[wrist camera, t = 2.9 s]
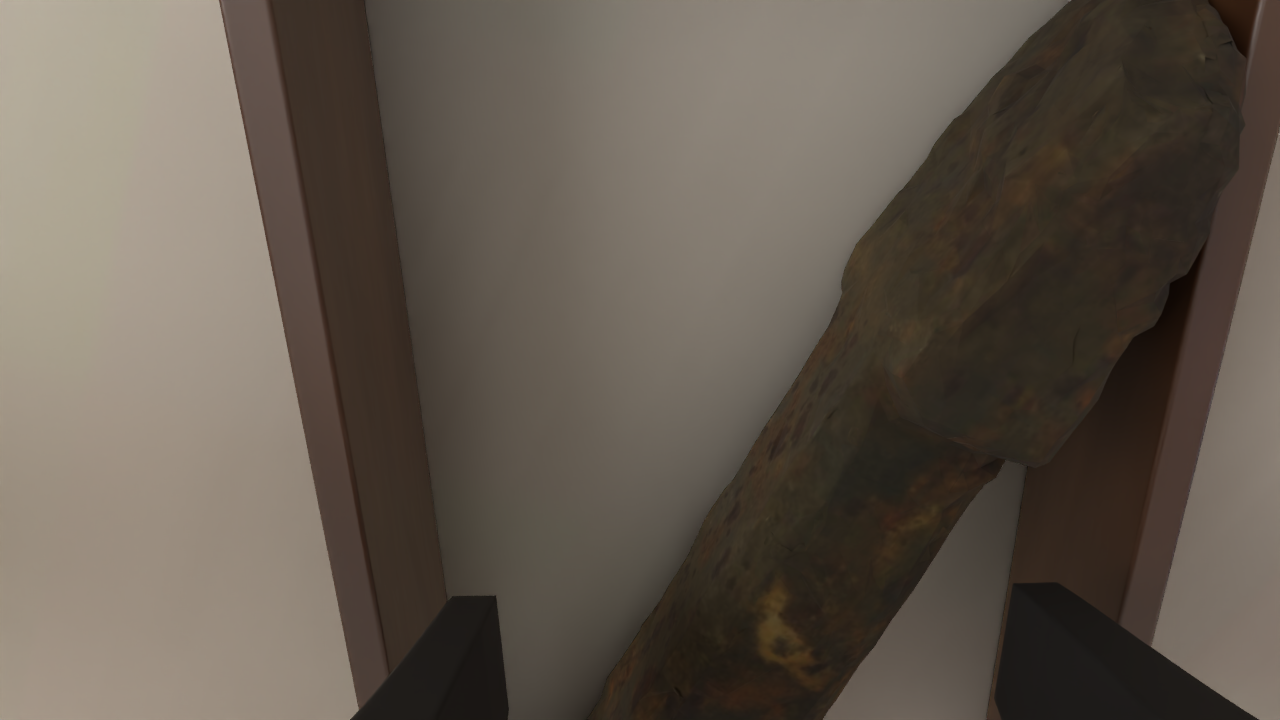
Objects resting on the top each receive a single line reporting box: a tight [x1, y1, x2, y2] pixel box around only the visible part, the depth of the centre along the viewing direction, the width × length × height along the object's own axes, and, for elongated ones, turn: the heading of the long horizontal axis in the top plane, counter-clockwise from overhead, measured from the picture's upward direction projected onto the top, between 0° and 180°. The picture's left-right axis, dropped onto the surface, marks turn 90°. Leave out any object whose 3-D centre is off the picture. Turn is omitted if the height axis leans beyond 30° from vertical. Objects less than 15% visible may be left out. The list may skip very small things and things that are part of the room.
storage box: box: [219, 0, 1280, 720], centre depth 14 cm, size 12×23×4 cm, turn 2°
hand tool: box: [587, 0, 1246, 720], centre depth 14 cm, size 19×4×5 cm, turn 153°
